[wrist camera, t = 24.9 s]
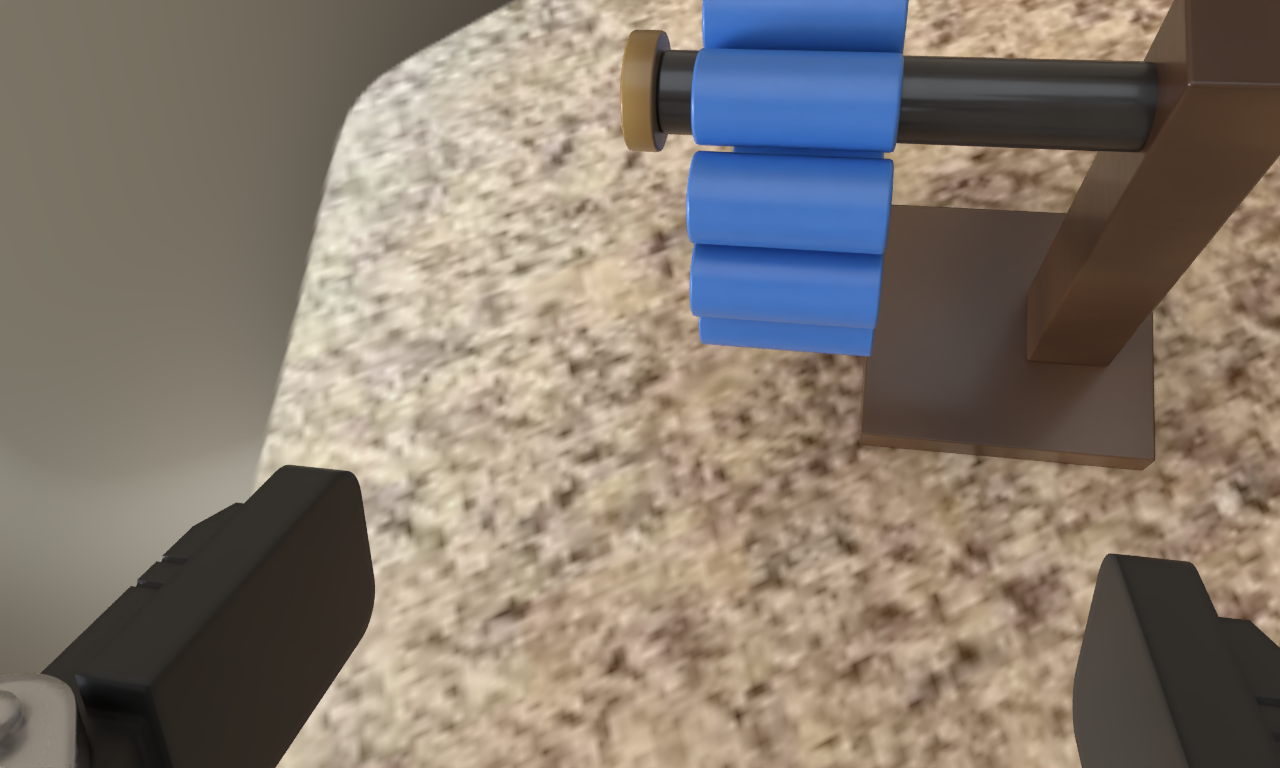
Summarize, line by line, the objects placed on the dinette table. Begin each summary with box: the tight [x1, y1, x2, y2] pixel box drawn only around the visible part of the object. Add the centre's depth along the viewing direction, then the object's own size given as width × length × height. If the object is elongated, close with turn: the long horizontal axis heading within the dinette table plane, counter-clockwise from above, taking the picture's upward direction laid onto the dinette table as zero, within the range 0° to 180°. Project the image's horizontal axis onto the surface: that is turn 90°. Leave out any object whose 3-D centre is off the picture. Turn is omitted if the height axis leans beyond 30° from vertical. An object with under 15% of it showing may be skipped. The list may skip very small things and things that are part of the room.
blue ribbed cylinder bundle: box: [686, 0, 909, 357], centre depth 24 cm, size 4×9×9 cm, turn 172°
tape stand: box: [620, 0, 1280, 470], centre depth 27 cm, size 14×8×16 cm, turn 82°
